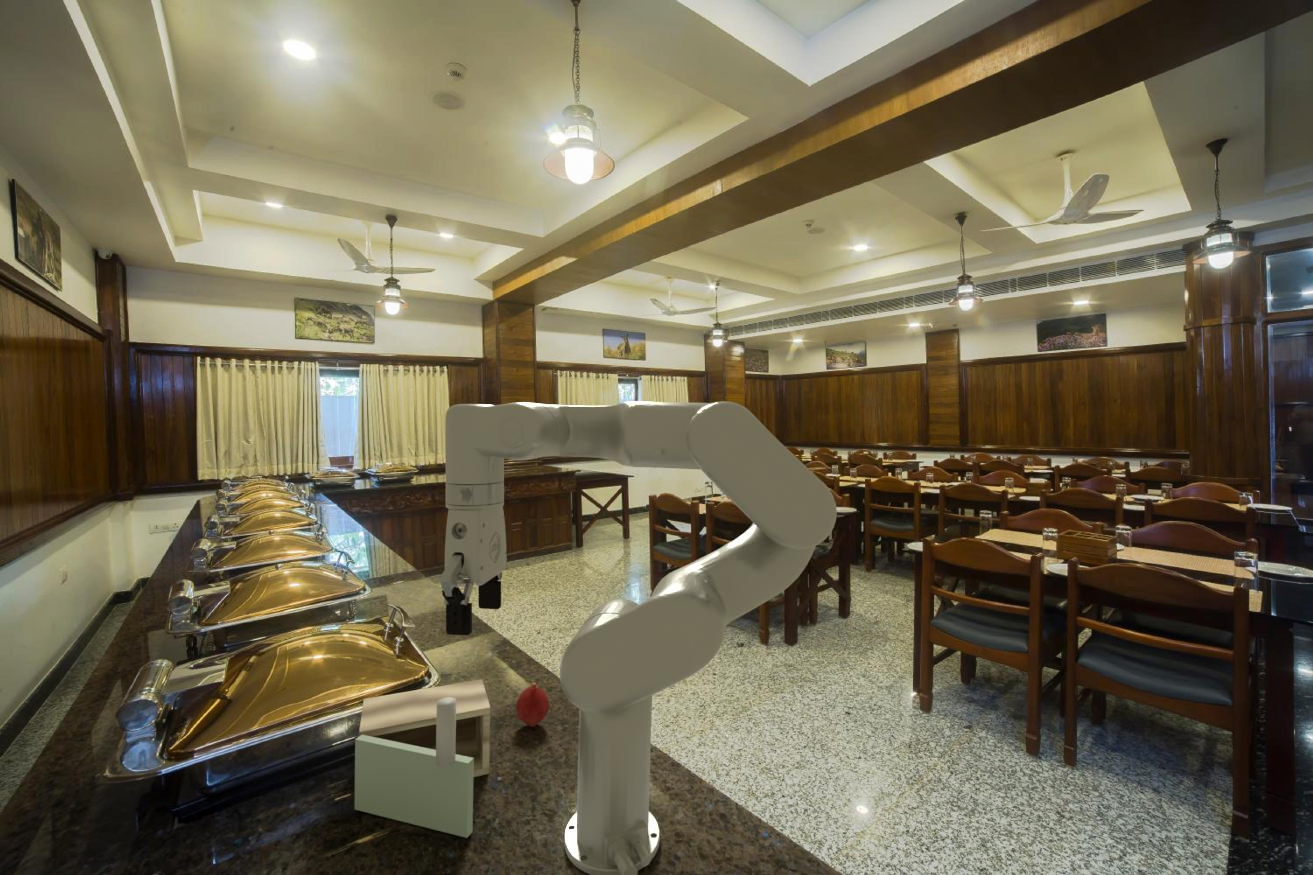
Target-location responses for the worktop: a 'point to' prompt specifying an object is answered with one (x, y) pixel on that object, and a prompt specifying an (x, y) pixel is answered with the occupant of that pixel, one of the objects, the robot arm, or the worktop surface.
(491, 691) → the worktop surface
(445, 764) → the cupboard door
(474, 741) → the cupboard
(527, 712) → the onion
